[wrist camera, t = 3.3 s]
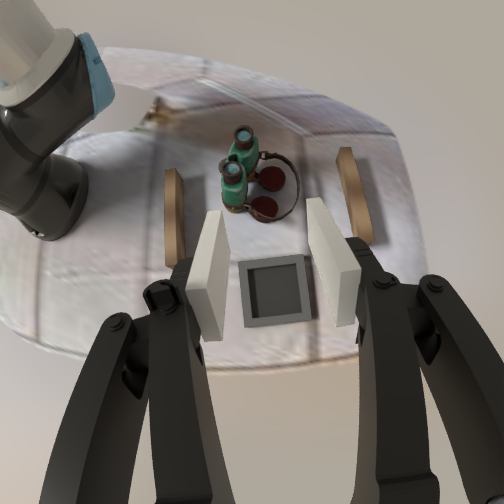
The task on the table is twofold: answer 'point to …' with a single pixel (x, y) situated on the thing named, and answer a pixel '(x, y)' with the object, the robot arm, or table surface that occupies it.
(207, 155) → the table surface
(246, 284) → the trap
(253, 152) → the binoculars
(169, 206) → the channel
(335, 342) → the table surface
